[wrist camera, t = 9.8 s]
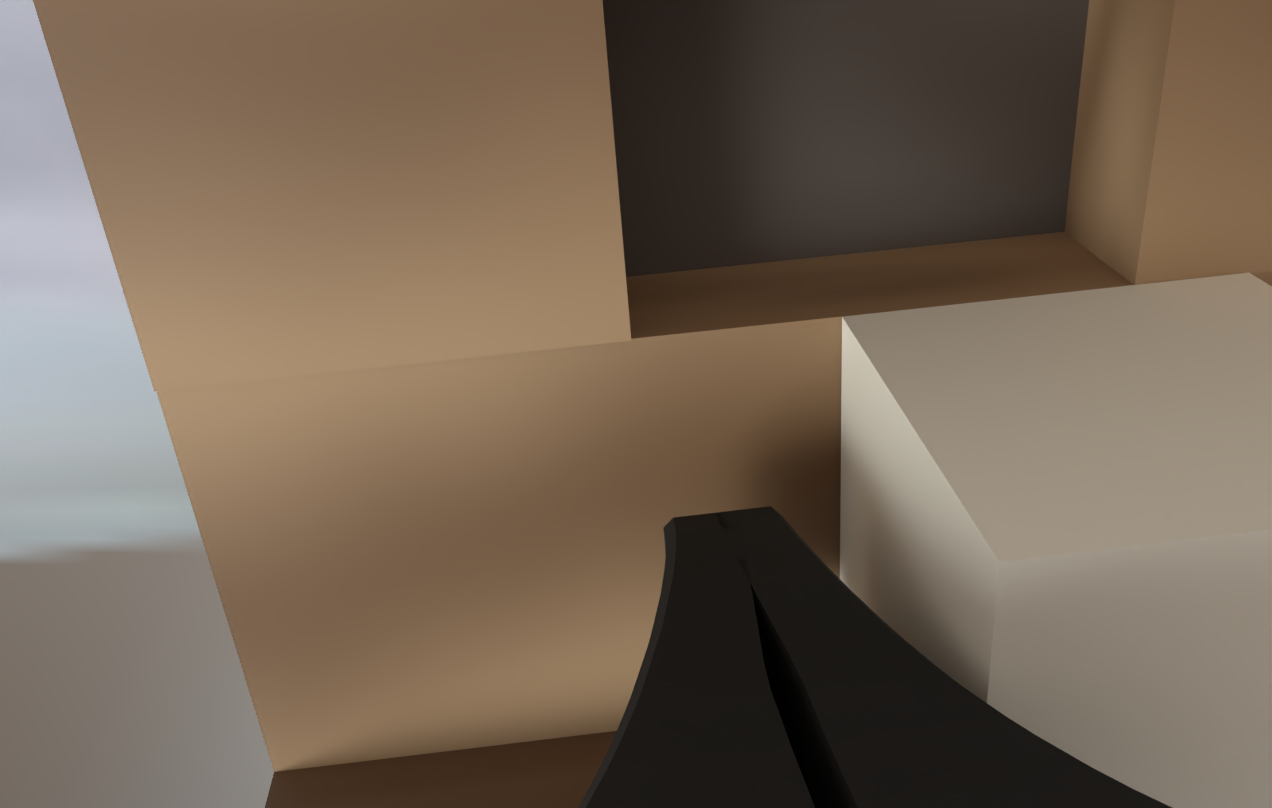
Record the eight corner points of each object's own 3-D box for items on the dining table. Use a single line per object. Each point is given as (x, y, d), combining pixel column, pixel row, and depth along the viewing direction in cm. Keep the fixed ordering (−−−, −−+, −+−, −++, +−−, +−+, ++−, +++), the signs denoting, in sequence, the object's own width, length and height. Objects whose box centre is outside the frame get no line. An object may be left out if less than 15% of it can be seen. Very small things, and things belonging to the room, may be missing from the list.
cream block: (1186, 603, 14) (1440, 902, 10) (838, 644, 14) (963, 968, 10) (1249, 272, 12) (1598, 491, 8) (842, 317, 12) (999, 561, 8)
